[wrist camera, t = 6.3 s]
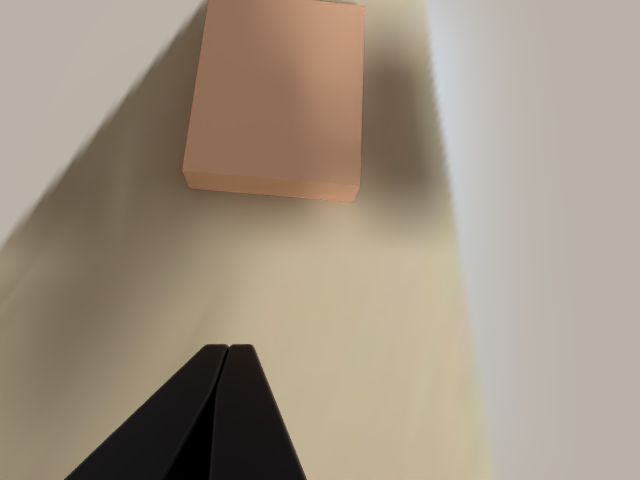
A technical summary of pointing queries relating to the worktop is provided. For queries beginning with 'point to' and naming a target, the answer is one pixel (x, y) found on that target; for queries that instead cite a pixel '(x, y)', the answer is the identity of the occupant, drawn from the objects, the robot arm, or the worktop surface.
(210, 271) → the worktop surface
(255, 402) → the robot arm
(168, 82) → the worktop surface
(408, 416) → the worktop surface
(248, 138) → the block
